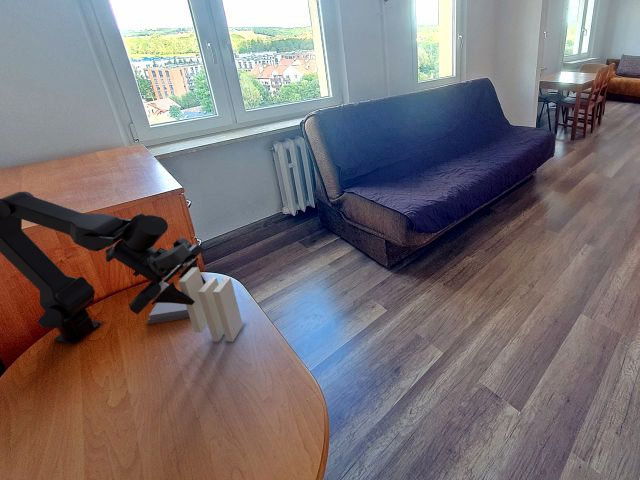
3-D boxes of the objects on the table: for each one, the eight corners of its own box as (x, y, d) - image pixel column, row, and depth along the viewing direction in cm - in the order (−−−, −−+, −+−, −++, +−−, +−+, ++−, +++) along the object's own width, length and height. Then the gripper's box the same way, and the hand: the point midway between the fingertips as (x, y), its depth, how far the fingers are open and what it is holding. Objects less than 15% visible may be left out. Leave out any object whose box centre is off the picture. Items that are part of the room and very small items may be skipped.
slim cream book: (194, 332, 83) (178, 281, 77) (206, 316, 88) (192, 267, 82) (200, 332, 83) (184, 281, 77) (212, 316, 88) (198, 267, 82)
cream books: (212, 341, 84) (197, 291, 78) (224, 325, 89) (210, 277, 83) (232, 341, 84) (219, 292, 78) (243, 325, 89) (230, 277, 83)
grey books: (148, 324, 89) (145, 316, 88) (163, 302, 96) (160, 295, 95) (194, 316, 91) (192, 309, 90) (205, 295, 99) (203, 289, 98)
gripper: (125, 264, 67) (193, 307, 71) (187, 216, 85) (239, 253, 89) (100, 294, 70) (166, 333, 74) (165, 242, 87) (216, 276, 91)
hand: (200, 295), depth 82 cm, fingers closed on slim cream book, 5 cm apart
